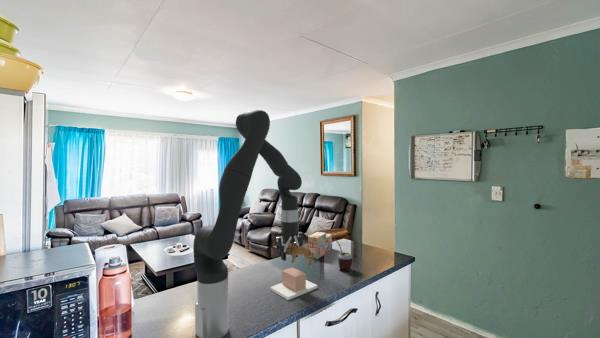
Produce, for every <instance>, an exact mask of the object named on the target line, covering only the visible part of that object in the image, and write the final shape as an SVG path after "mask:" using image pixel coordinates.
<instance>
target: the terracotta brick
mask: <svg viewBox="0 0 600 338" xmlns="http://www.w3.org/2000/svg"><path fill="white" fill-rule="evenodd" d="M281 273H282V274H281V277H282V278H281V280H282V281H281V283H282V285H284V286H286V287H288V288H290V289H291V290H293V291H295V292H297V291H299V290H302V289H304V288H306V280H307V278H306V277H307V273H305V272H303V271H302V270H299V269H297V268H295V267H289V268H286V269H283V270H282V272H281Z"/></svg>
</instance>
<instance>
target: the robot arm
mask: <svg viewBox="0 0 600 338" xmlns="http://www.w3.org/2000/svg"><path fill="white" fill-rule="evenodd" d="M270 126H271V120H270V115H269V114H268V113H267V112H266V111H264V110H258V109H256V110H249V111H243V112H240V113H239V114H238V115H237V116H236V118H235V127H236V130H237V131H238V133H239V134H240V135H241V136H242V137H243V139H244V141H243V143H242V145H241V146H240V147H239V148H238V150H237V151H236V152H235V153H234V155H232V157H231V158H230V159H229V161H228V162H227V163H226V165H225V167H224V169H223V172H222V174H221V178H220V180H219V187H218V196H219V210H218V215H217V218H216V220H215V224H214V225H205V226H202V227H200V228H199V229H198V230H197V231H196V233H195V235H194V238H193V263H194V264H193V265H194V271H195V273H196V278H197V279H196V282H197V283H196V285H197V286H196V287H197V292H196V293H197V302H196V303H195V304H194V305H195V307H194V309H195V311H194V312H195V315H194V316H195V321H194V323H195V325H194V326H195V327H194V329H195V331H194V332H195V335H196V336H197V337H198V338H224V337H226V336H227V334H228V333H229V323H230V322H229V268H228V266H227V264H226V263H225V262H224V260H223V259H224V258H225V257H226V256H228V254H229V253H230V251H231V249H232V247H233V244H234V240H235V236H236V231H237V226H238V222H239V217H240V213H241V211H242V208H243V204H244V201H245V197H246V193H247V191H248V188H249V185H250V182H251V180H252V176H253V171H254V169H255V165H256V163H257V160H258V157H259V155H260V156H261V157H262V159H263V160H264V161H265V163H266V164H267V165H268V166H269V168H270V170H271V171H272V173H273V174H274V175H275V176H276V177H278V179H277V189H278V192H279V197H280V200H281V212H280V230H281V234H280V235H281V236H275V237H274V239H275V244H276V245H275V246H276V247H275V248H276V251H279V252H280V259H281V260H282V261H284V262H286V261H287V252H286V249H287V247H288V246H289V243H295V244H297V246H299V247H303V243H304V232H302V231H299V225H300V224H299V210H298V209H299V204H298V202H299V199H298V196H296V195H294V194H292V193H291V191H297V190H299V189H300V188H301V187H302V181H303V180H302V177H301V175H300V174H299V173H298V172H297V171H296V170H295V169H294V168H293V167H292V166H291V165H290V164H289V163H288V161H287V160H286V158H285V156H284V155H283V154H282V152H280V150H278V148H277V147H275V146H273V144H272V143H270V142H269V141H267V139H266V138H267V137H268V133H269V131H270ZM285 243H286V244H285ZM283 247H284V249H283ZM298 257H299V255H296V258H298Z"/></svg>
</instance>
